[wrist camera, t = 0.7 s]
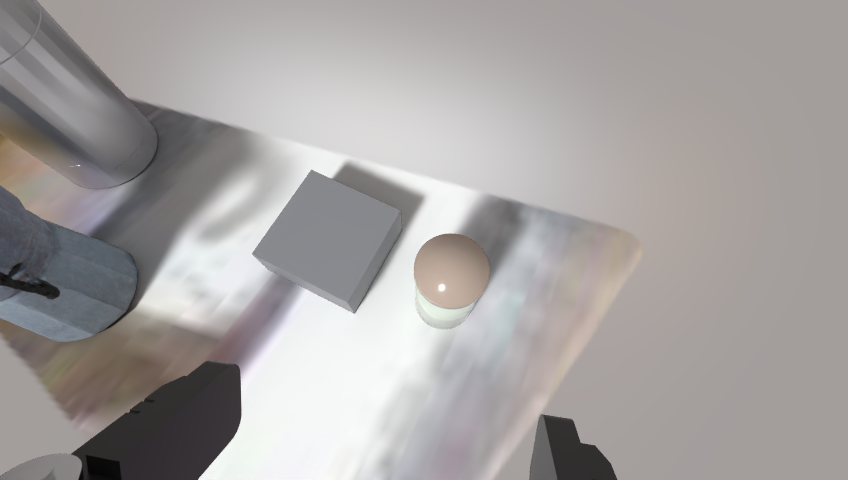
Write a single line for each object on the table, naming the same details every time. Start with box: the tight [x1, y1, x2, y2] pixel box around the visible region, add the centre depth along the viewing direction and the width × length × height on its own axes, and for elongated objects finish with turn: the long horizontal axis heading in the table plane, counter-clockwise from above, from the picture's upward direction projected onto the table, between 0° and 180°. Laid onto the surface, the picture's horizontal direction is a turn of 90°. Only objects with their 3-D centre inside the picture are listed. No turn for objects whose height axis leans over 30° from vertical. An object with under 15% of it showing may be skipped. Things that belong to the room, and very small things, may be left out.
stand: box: [252, 170, 402, 314], centre depth 36 cm, size 9×9×4 cm
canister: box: [414, 234, 490, 329], centre depth 32 cm, size 5×5×9 cm
